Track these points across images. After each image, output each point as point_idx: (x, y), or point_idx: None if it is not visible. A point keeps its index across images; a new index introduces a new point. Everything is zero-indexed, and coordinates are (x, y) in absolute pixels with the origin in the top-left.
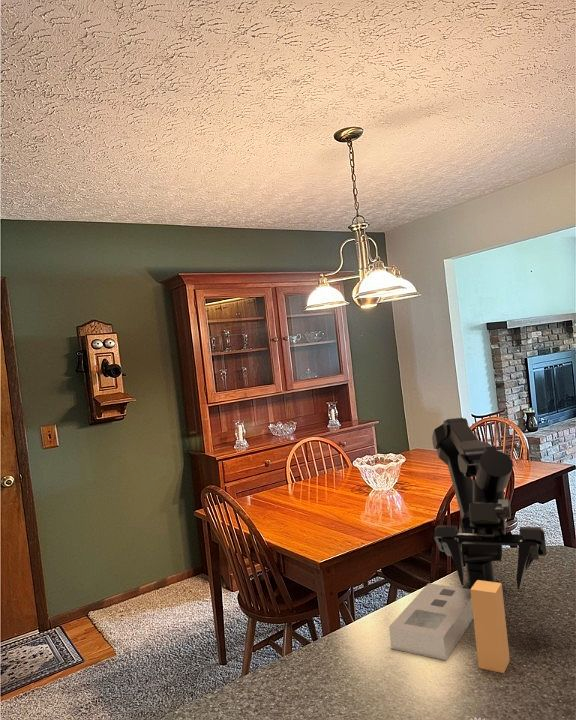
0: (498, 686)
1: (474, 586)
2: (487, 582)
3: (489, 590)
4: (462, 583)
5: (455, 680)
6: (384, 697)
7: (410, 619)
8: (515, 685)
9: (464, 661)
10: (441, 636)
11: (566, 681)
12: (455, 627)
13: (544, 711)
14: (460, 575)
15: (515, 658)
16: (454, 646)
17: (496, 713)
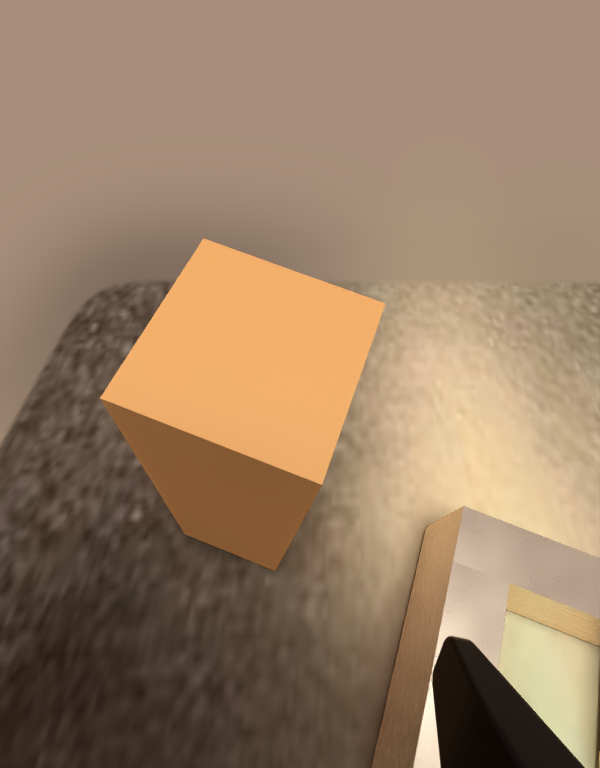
0: None
1: (353, 347)
2: (231, 419)
3: (241, 272)
4: (451, 638)
5: (384, 415)
6: (566, 337)
7: None
8: None
9: (357, 534)
10: (473, 510)
11: (26, 416)
12: (414, 690)
13: (154, 287)
14: (501, 691)
15: (156, 565)
16: (401, 640)
17: None
